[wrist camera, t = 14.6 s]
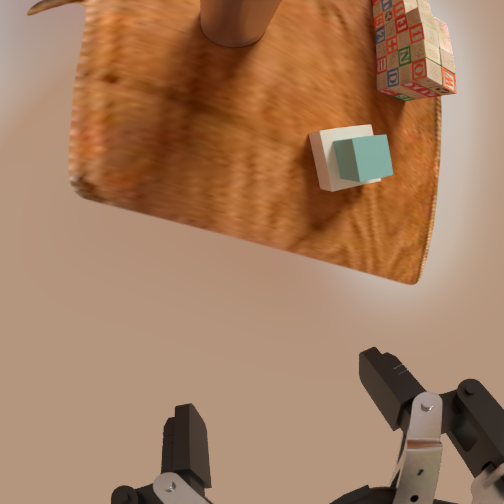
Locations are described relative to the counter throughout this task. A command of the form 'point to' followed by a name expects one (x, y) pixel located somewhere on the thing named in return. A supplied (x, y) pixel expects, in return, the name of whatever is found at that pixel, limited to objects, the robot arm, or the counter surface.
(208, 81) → the counter surface
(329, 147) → the white square block
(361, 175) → the teal cube
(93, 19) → the counter surface
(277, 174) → the counter surface
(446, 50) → the stack of blocks
